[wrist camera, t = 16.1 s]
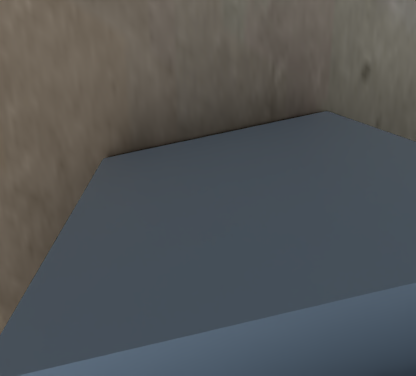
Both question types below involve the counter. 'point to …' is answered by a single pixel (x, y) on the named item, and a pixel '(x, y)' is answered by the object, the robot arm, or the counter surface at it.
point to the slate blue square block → (233, 260)
